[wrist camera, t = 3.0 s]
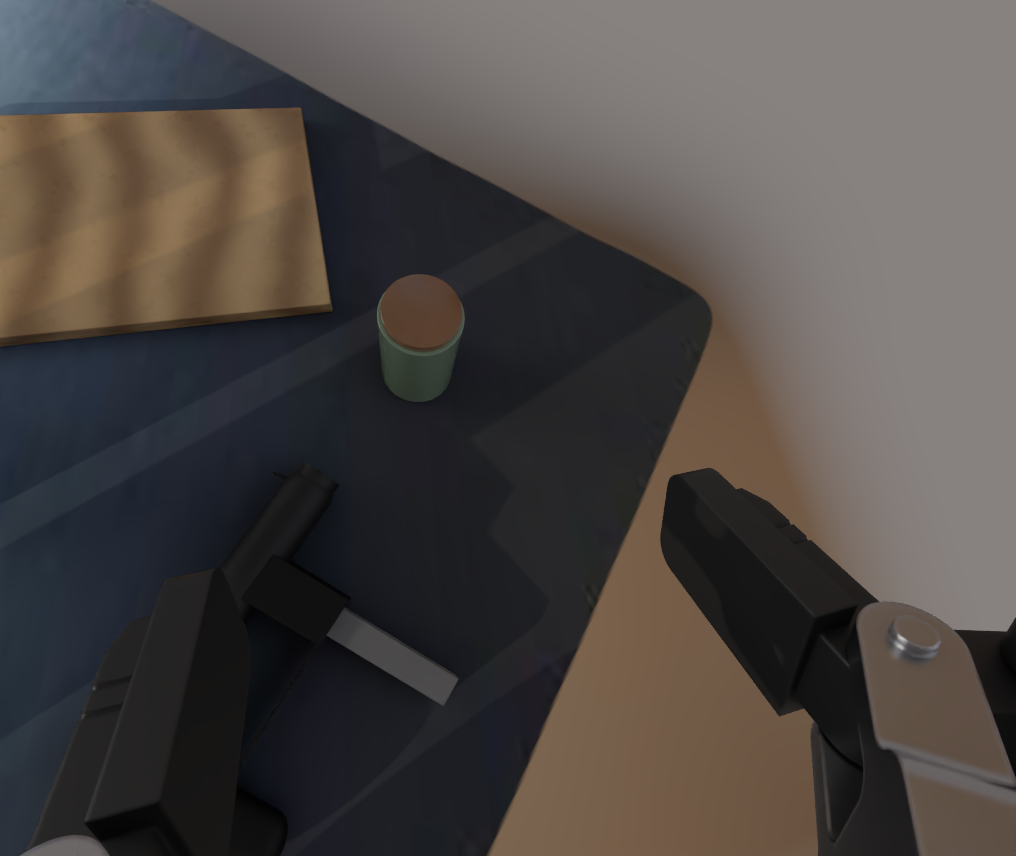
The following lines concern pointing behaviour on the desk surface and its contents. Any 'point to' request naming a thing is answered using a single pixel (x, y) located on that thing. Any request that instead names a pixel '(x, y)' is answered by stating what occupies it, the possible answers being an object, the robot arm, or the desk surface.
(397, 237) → the desk surface
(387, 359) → the salt pot
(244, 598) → the door handle
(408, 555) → the desk surface
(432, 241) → the desk surface
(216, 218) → the oak board
